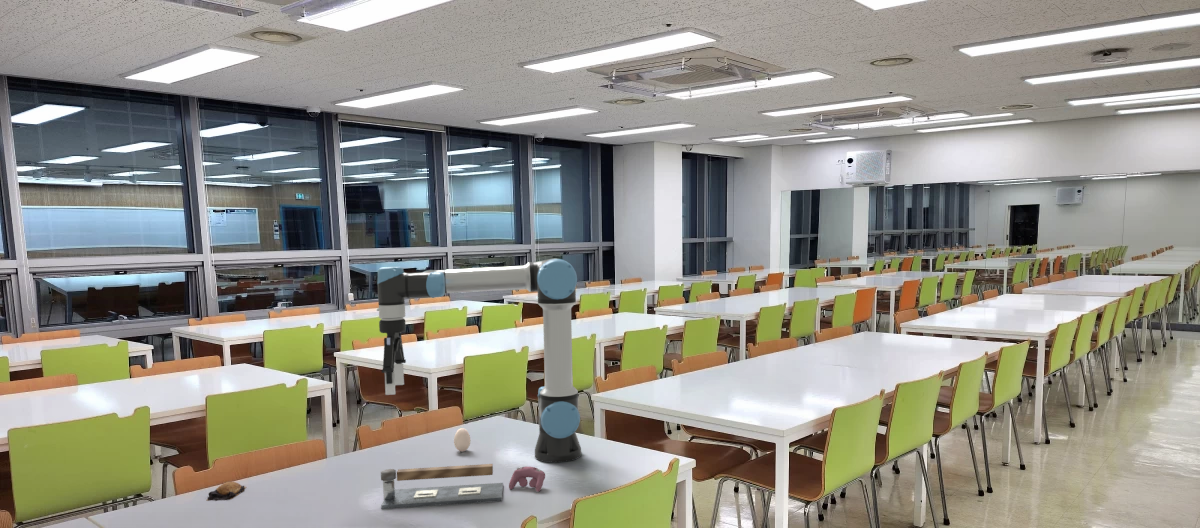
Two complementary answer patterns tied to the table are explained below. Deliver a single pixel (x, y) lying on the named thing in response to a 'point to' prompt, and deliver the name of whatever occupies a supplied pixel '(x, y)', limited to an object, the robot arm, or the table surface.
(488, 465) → the swing bar
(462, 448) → the egg
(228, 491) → the toy turtle
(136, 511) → the table surface
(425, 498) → the board
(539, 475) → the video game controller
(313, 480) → the table surface
